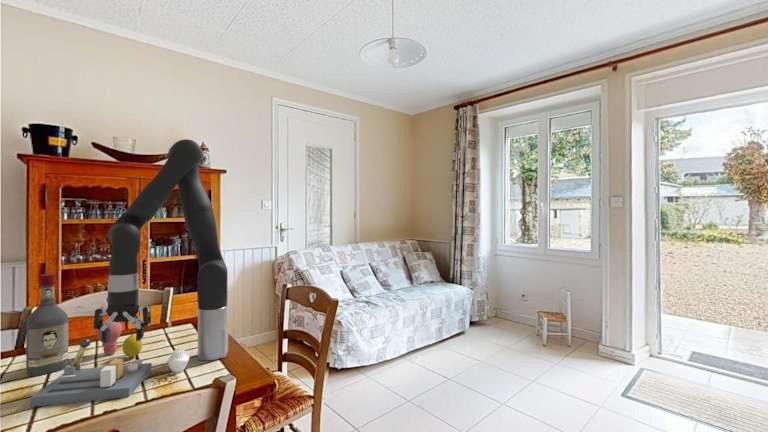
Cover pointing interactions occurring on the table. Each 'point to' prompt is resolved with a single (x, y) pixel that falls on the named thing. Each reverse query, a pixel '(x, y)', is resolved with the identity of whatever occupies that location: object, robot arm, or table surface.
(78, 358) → the brass lever
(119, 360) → the orange slider
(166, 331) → the table surface
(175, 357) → the white egg shape
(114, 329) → the light bulb
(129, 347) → the lemon
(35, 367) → the liquor
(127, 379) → the panel
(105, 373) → the grey slider
